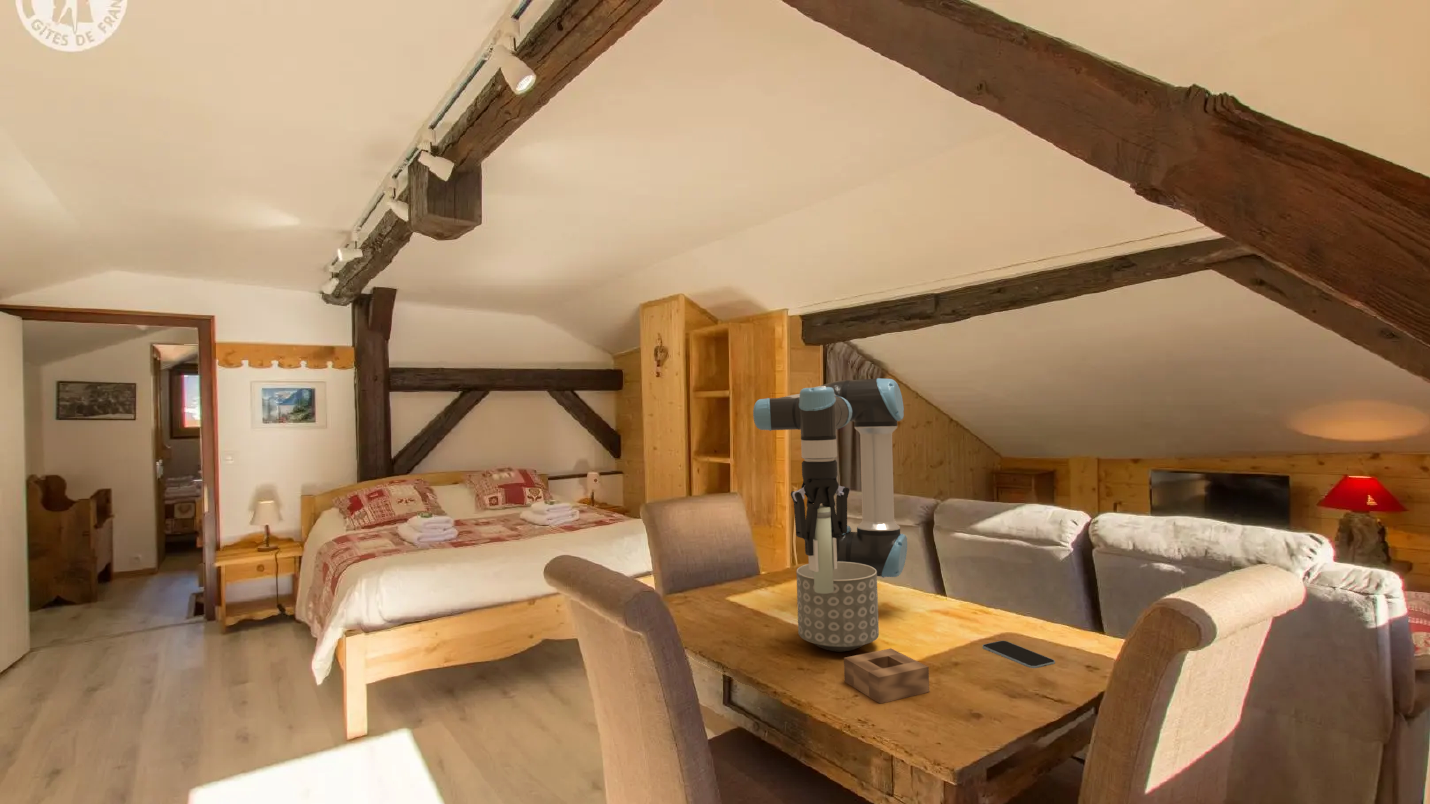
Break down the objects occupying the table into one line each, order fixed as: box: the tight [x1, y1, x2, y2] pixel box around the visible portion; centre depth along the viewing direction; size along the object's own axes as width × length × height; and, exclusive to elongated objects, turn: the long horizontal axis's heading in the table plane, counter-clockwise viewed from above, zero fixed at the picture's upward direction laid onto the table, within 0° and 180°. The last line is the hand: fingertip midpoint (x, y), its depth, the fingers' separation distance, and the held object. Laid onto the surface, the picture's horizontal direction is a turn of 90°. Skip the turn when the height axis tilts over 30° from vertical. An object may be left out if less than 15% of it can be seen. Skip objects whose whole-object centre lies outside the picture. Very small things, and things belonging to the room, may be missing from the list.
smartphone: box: [982, 640, 1056, 669], centre depth 157 cm, size 7×1×15 cm
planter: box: [795, 562, 880, 653], centre depth 166 cm, size 19×19×18 cm
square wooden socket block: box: [843, 648, 930, 704], centre depth 141 cm, size 12×12×5 cm
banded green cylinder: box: [814, 504, 834, 594], centre depth 148 cm, size 4×4×18 cm
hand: (823, 568), depth 148 cm, fingers closed on banded green cylinder, 4 cm apart
